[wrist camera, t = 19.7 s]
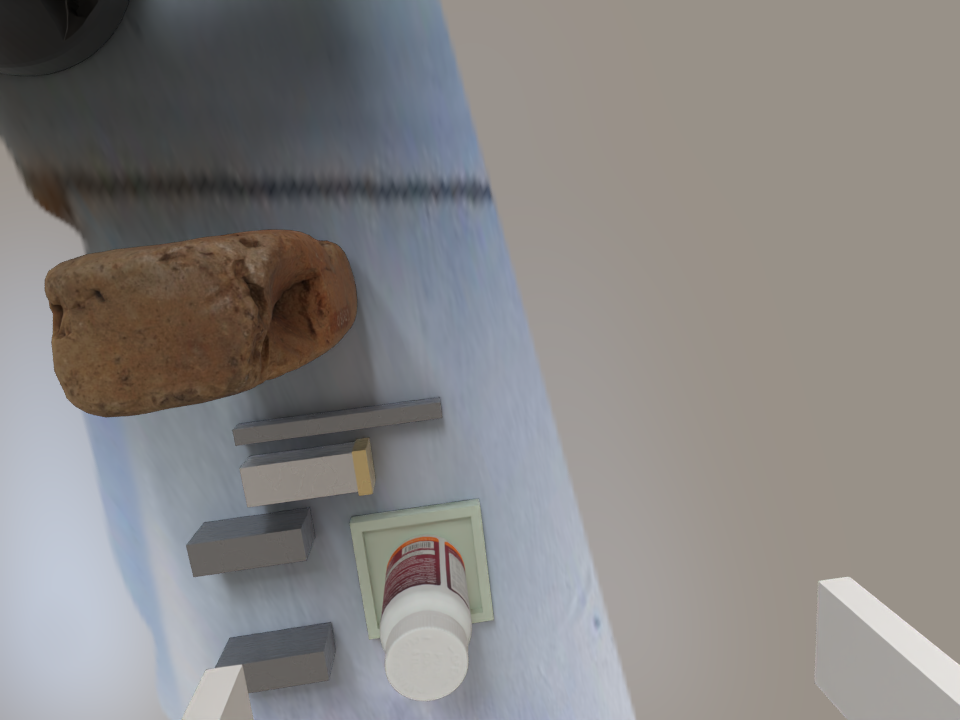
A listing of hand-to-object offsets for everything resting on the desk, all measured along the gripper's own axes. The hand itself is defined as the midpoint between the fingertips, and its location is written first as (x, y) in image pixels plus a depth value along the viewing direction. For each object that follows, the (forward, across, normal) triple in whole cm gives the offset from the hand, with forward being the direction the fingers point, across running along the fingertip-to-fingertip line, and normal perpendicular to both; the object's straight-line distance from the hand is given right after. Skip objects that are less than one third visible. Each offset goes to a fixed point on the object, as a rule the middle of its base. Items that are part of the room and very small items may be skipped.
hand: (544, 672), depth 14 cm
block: (+33, -12, +7) cm, 36 cm away
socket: (+32, -16, -16) cm, 40 cm away
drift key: (+32, -12, -7) cm, 35 cm away
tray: (+32, -4, -16) cm, 36 cm away
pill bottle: (+32, -4, -16) cm, 36 cm away
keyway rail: (+32, -9, -3) cm, 34 cm away
